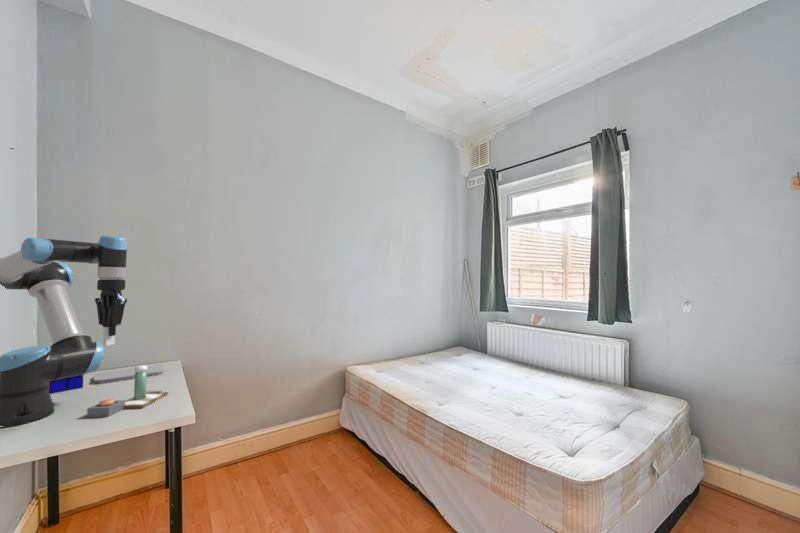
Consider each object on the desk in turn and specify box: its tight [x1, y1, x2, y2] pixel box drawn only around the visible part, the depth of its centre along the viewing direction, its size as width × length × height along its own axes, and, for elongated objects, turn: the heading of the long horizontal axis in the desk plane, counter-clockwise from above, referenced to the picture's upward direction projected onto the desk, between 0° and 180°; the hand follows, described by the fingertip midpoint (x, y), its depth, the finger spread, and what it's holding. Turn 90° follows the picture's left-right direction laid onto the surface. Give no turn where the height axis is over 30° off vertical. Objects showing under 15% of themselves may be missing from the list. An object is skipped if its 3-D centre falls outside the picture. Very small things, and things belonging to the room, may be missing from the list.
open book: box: [123, 390, 169, 410], centre depth 123 cm, size 14×10×2 cm
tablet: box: [93, 364, 166, 385], centre depth 157 cm, size 16×26×2 cm, turn 130°
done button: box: [98, 398, 116, 407], centre depth 113 cm, size 4×4×2 cm
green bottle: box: [133, 364, 148, 400], centre depth 123 cm, size 4×4×12 cm
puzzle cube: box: [48, 375, 84, 395], centre depth 138 cm, size 10×10×10 cm
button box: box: [86, 399, 126, 418], centre depth 113 cm, size 7×7×3 cm
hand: (109, 344), depth 114 cm, fingers closed
